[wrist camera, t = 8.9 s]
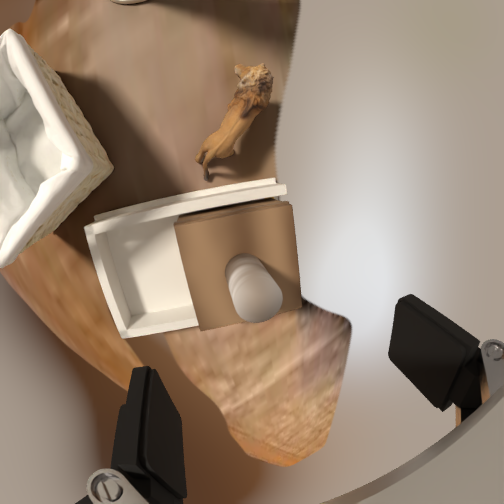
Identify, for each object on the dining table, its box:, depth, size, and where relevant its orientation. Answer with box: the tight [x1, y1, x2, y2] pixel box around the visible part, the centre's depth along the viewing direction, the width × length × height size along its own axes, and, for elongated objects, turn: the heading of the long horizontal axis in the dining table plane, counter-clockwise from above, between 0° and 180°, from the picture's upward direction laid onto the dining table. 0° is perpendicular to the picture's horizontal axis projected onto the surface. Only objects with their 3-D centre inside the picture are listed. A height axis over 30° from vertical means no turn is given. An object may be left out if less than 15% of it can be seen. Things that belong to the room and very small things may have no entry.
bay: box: [84, 178, 287, 339], centre depth 34 cm, size 25×17×5 cm
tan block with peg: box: [173, 198, 302, 331], centre depth 29 cm, size 12×12×15 cm
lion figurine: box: [195, 63, 274, 181], centre depth 28 cm, size 15×5×9 cm, turn 157°
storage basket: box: [0, 29, 114, 268], centre depth 21 cm, size 24×16×15 cm
